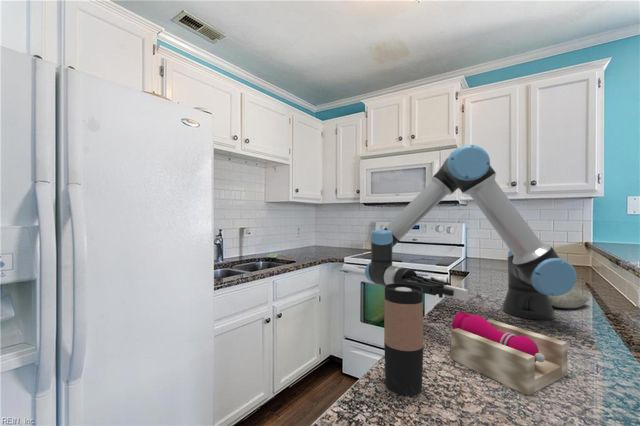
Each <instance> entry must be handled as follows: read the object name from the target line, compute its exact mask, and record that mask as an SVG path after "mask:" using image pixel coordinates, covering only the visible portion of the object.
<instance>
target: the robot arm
mask: <svg viewBox="0 0 640 426" xmlns="http://www.w3.org/2000/svg"><path fill="white" fill-rule="evenodd" d="M496 176H497V171H495V169H494V168H493V167H492V165H491V159H490V156H489V153H488V152H487V151H486V150H485V149H484V148H483V147H481V146H478V145H476V144H474V145H473V144H465V145H462V146H459V147H457V148H456V149H454V150H453V151H451V153H450V154H449V155H448V157H447V158H446V159H445V161H444V162H443V163H442V165H441V167H440V168H439V169H438V170H437V172H436V173H435V174H434V175H433V176H432V177H431V182H430V183H428V185H426V187H424V188H423V189H422V190H421V191H420V192H419V193H418V195H417V196H415V197H414V198H413V199H412V200H411V201H410V202H409V203H408V204H407V205H406V206H405V207H404V209H402V210H401V211H400V212H399V213H398V214H397V215H396V216H395V217H394V218H393V219H392V220H391V221H390V222H389V223H388V224H387V225H386V226H385V227H384V228H383V229H375V230H372V231H371V233H370V234H371V236H370V255H371V257H370V261H369V263H367V265H366V267H365V268H364V274H365V277H366V279H367V280H368V281H369V282H371V283H374V284H376V285H380V286H382V287H385V286H386V285H387V284H393V283H405V284H413V285H417V286H420V287H422V289H423V294H426V295H431V296H437V295H438V298H439V299H442V298H443V296H444V297H449V298H452V299H456V300H459V301H462V302H467V301H469V300H470V299H469V297H470V296H469V294H470V293H469V292H470V291H469V289H466V288H461V287H457V286H454V285H453V286H452V283H450V282H449V281H446V282H445V281H443V280H441V279H440V280H439V279H437V278H435V277H429V278H427V277H424V276H422V275H417V273H416V271H415V270H413V269H412V268H406V267H402V266H398V265H393V251H394V250H393V248H394V247H395V246H396V245H397V244H398V243H399V242H400V241H401V240H402V239H403V238H404V237H405V236H406V235H407V234H408V233H409V232H410V231H411V230H412V229H413V228H415V226H416V225H418V223H420V221H422V220H423V219H424V217H426V216H427V215H428V214H429V212H431V211H432V210H433V209H434V208H435V207H436V206H437V205H438V204H439V203H440V202H441V201H442V200H443V199H444V198H445V197H446V196H448V195H450V196H451V195H452V194H454V193H455V191H457V190H460V192H461V193H462V194H464V195H467V196H468V195H469V196H470V197H471V199H472V200H473V201H474V202H475V204H476V205H477V206H478V208H479V209H480V212H482V214H483V215H484V216H485V218H486V219H487V220H488V222H489V223H490V224H491V226H492V227H493V229H494V230H495V231H496V233H497V234H498V235H499V237H500V238H501V240H502V241H503V242H504V244H505V245H506V246H507V248H508V249H509V250H508V253H507V280H508V281H507V282H508V283H507V284H508V285H507V287H508V289H507V292H506V294H505V295H506V296H505V298H504V301H503V303H502V311H503V312H505V313H506V314H508V315H511V316H514V317H518V318H523V319H527V320H536V321H547V320H548V321H550V320H553V319H555V310H554V308H553V307H552V305H551V302H550V299H549V297H548V295H549V296H561V295H564V294H566V293H568V292H569V291H571V290H573V289H574V287H575V285H576V283H577V280H578V277H577V271H576V269H575V267H574V266H573V264H571V263H570V262H569V261H567V260H566V259H563V258H562V257H560V256H559V255H558V253H557V252H556V251H555V249H554V248H553V247H552V246H551V244H549V243H544V242H542V241H541V240H540V238H539V237H538V236H537V235H536V233H535V232H534V230H532V228H531V226H530V225H529V224H528V223H527V221H526V220H525V219H524V217H523V215H521V213H520V212H519V211H518V209H517V208H516V206H515V205H514V204H513V203H512V201H511V200H510V198H509V197H508V196H507V194H506V193H505V191H503V189H502V188H501V186H500V185H499V184H498V183H497V181H496Z"/></svg>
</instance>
